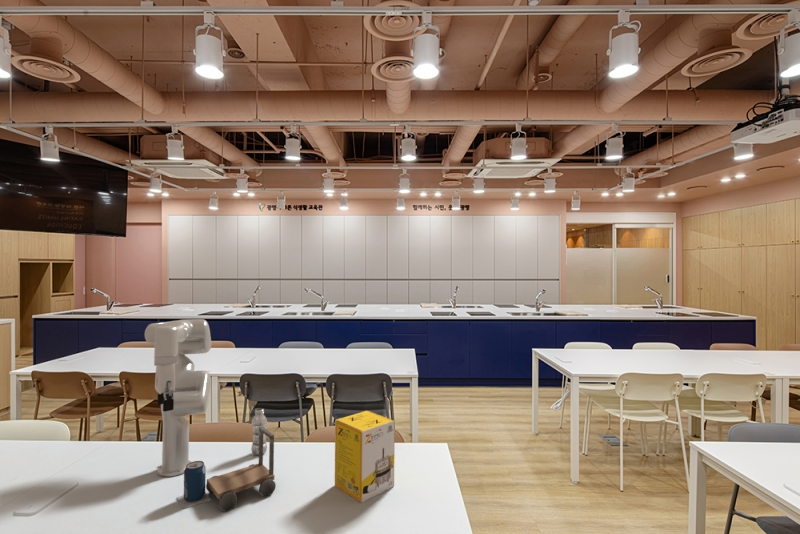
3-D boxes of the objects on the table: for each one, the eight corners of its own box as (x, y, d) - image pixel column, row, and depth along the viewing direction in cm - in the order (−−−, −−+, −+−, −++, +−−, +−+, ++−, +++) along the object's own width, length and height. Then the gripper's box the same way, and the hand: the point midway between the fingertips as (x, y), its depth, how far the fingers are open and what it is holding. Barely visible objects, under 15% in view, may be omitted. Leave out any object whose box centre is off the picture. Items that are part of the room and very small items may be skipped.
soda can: (209, 493, 147) (209, 460, 147) (197, 504, 140) (198, 469, 140) (191, 492, 148) (192, 459, 148) (179, 502, 141) (179, 468, 141)
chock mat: (176, 498, 144) (176, 497, 144) (203, 489, 150) (203, 488, 150) (183, 509, 138) (183, 508, 138) (210, 499, 144) (210, 499, 144)
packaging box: (367, 471, 165) (367, 410, 166) (394, 486, 154) (394, 420, 154) (334, 485, 154) (335, 420, 155) (361, 502, 142) (361, 431, 143)
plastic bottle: (262, 457, 177) (262, 412, 177) (248, 456, 178) (248, 411, 179) (269, 451, 183) (270, 407, 184) (256, 450, 185) (256, 406, 185)
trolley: (219, 514, 135) (220, 452, 136) (205, 494, 147) (206, 437, 148) (276, 493, 148) (276, 437, 149) (258, 476, 160) (259, 424, 161)
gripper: (149, 357, 151) (148, 403, 150) (159, 365, 137) (158, 415, 137) (172, 355, 155) (171, 399, 155) (183, 362, 142) (182, 411, 142)
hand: (165, 407), depth 146 cm, fingers open, 9 cm apart
